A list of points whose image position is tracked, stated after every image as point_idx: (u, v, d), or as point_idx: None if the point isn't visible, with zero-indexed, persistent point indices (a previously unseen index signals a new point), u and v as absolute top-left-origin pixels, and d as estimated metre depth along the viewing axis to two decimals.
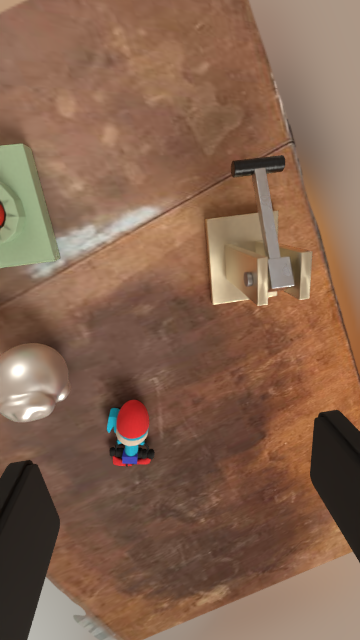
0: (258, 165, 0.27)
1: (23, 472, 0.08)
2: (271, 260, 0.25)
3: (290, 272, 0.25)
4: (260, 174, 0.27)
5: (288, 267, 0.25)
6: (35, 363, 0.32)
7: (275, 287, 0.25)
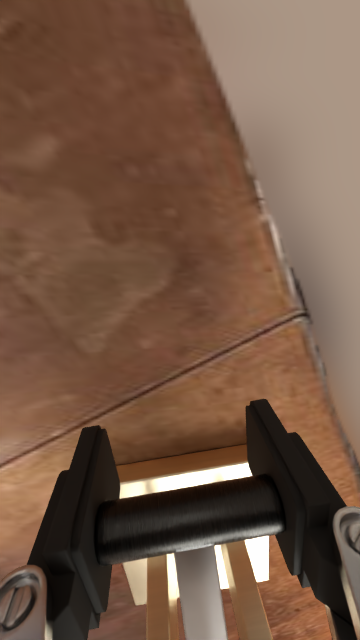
0: (187, 539, 0.07)
1: (97, 434, 0.09)
2: None
3: None
4: (195, 575, 0.07)
5: None
6: None
7: None
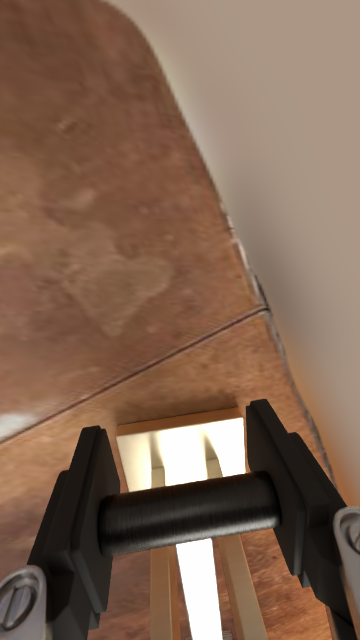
0: (187, 535, 0.08)
1: (97, 434, 0.09)
2: None
3: None
4: (192, 556, 0.08)
5: None
6: None
7: None
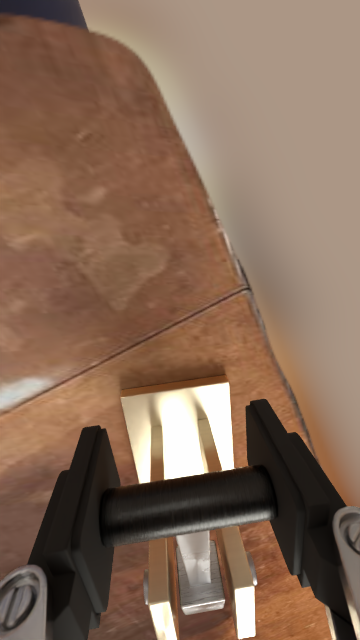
0: None
1: (97, 434, 0.09)
2: (189, 607, 0.13)
3: (220, 605, 0.14)
4: (190, 536, 0.09)
5: (218, 604, 0.14)
6: None
7: (190, 613, 0.15)
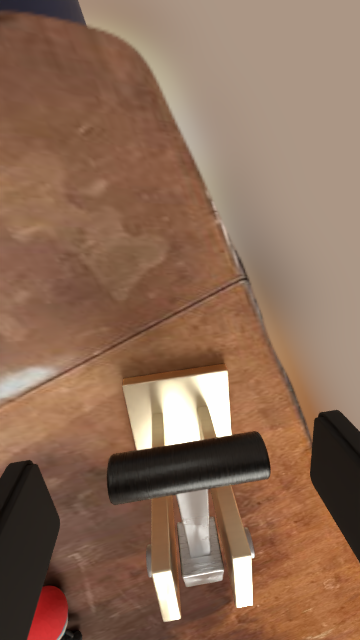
0: None
1: (23, 472, 0.08)
2: (189, 576, 0.14)
3: (219, 577, 0.15)
4: (190, 497, 0.09)
5: (218, 575, 0.15)
6: None
7: (191, 585, 0.16)
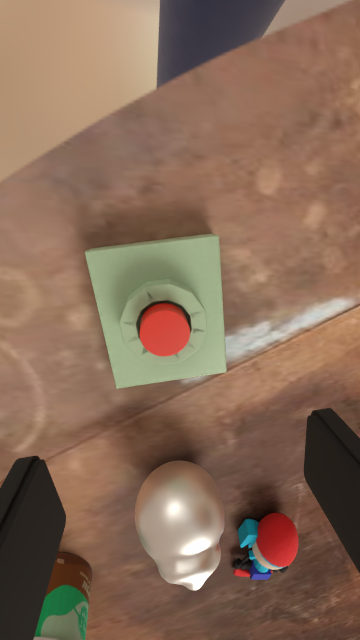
0: None
1: (31, 467, 0.08)
2: None
3: None
4: None
5: None
6: (204, 508, 0.25)
7: None
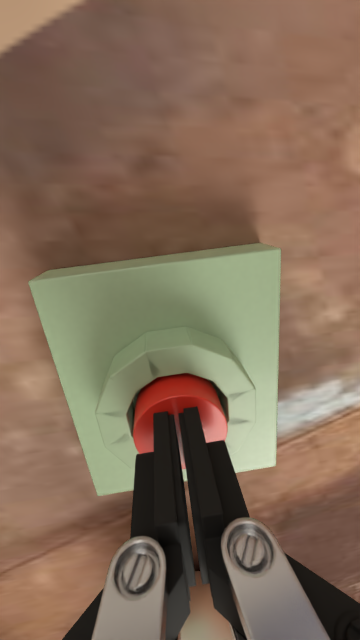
0: None
1: (169, 419, 0.09)
2: None
3: None
4: None
5: None
6: None
7: None
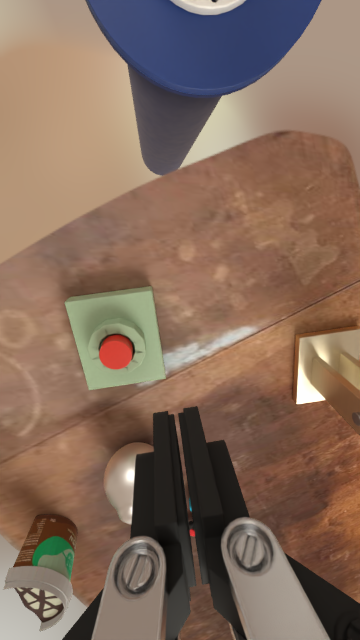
0: None
1: (169, 419, 0.09)
2: None
3: None
4: None
5: None
6: None
7: None
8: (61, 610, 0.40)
